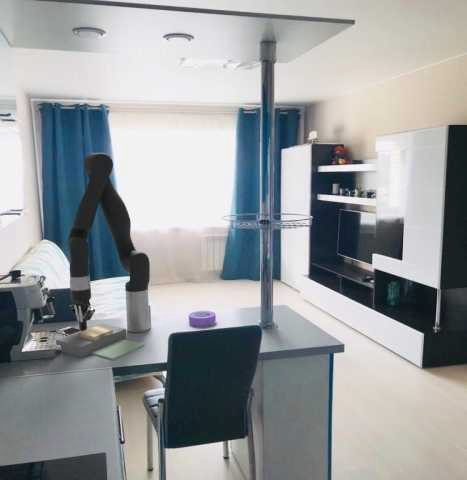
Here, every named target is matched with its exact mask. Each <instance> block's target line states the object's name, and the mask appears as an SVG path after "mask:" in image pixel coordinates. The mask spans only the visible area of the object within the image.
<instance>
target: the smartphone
mask: <svg viewBox="0 0 467 480" xmlns="http://www.w3.org/2000/svg"><path fill="white" fill-rule="evenodd" d="M59 330H63V331H64V332H65V334H66V335H67V336H68V335H71V334H73V333H76V332H79V331H80V329H79V328H76V327H73V326H67V327H64V328H61V329H59ZM66 335H65V336H66Z"/></svg>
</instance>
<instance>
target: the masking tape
mask: <svg viewBox="0 0 467 480" xmlns="http://www.w3.org/2000/svg"><path fill="white" fill-rule="evenodd" d="M216 314H217V313H215V312H213V311H210V310H199V311H192V312H190V313H189V314H188V324H189V325H190V326H194V327H199V328H200V327H202V326H204V327H208V326H207V325H210V324H213V323H214V322H215V321H216V322H217V319H216V316H217V315H216ZM213 325H214V324H213ZM210 326H211V325H210Z"/></svg>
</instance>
